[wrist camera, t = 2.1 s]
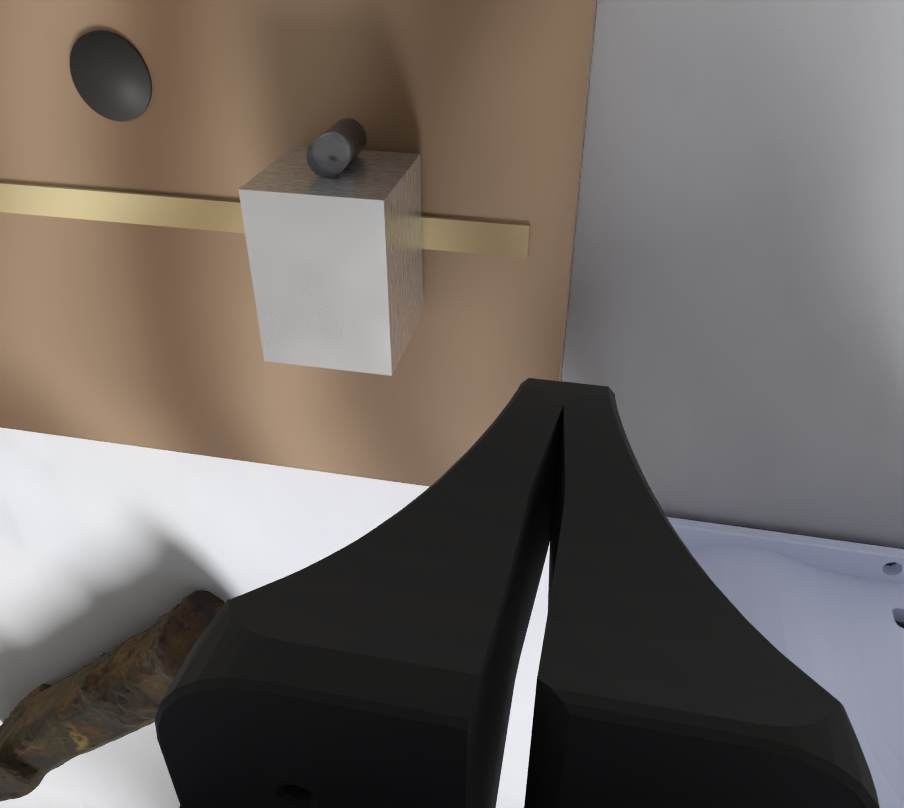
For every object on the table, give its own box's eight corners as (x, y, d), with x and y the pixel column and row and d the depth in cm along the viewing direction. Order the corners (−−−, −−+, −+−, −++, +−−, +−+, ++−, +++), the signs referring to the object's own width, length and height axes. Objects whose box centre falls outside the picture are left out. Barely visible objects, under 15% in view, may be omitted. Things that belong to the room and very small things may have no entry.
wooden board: (602, -57, 17) (587, -30, 13) (552, 470, 24) (533, 589, 21) (-211, -74, 20) (-426, -57, 16) (-24, 395, 28) (-137, 484, 24)
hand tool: (204, 568, 31) (141, 666, 27) (274, 633, 32) (223, 734, 29) (-30, 689, 40) (-101, 775, 36) (32, 736, 42) (-30, 823, 38)
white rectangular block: (419, 116, 17) (381, 159, 15) (423, 313, 20) (391, 375, 18) (289, 109, 18) (232, 148, 16) (309, 301, 21) (264, 361, 18)
